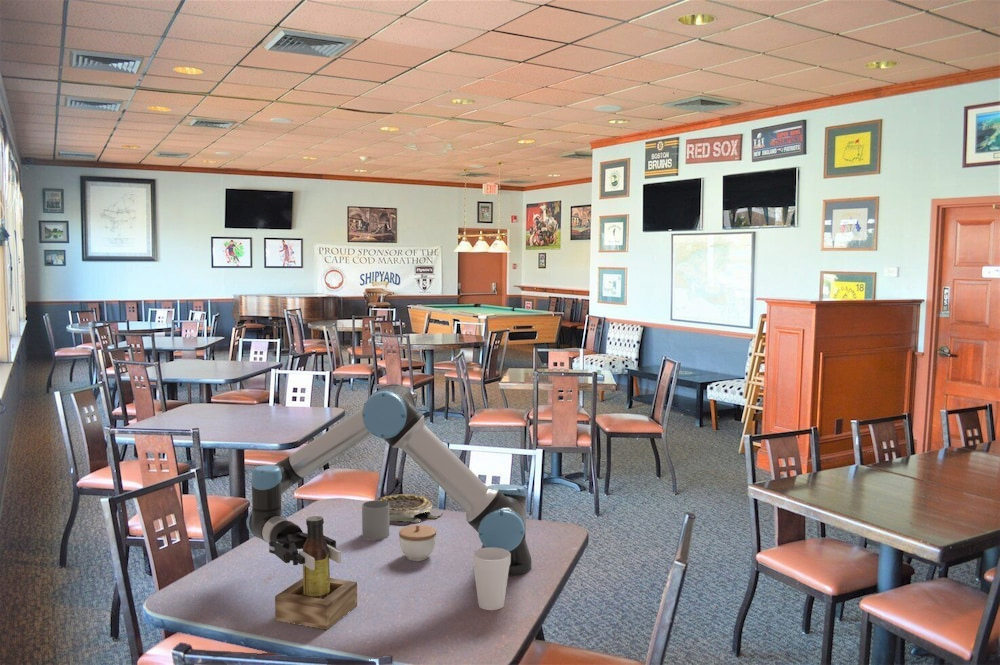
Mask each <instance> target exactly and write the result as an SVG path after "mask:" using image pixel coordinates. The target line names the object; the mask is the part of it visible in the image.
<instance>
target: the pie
mask: <svg viewBox="0 0 1000 665" xmlns="http://www.w3.org/2000/svg"><path fill="white" fill-rule="evenodd" d="M374 500H381V501H386V502H388V503H389V525H392V523H390V522H393V521H403V522H407V521H408V522H409V521H410V522H409V523H406V524H404V526H406V525H409V524H411V523H412V522H417V523H420V522H419V521H421V522H422V519H421V518H418V517H415V516H416V515H420V514H423V513H425V512H426V513H425V514H426V517H427V519H438V518H440V517H441V516H442V515H443V512H442V513H441V514H440V515H431V511H432V508H433V502H432V501H431V500H432V499H431V498H429V497H427V496H426V495H421V494H418V495H417V494H412V493H411V494H406V493H405V494H404V493H402V494H401V493H400V494H397V493H396V494H389V495H385V496H379V497H377V498H375V499H373V500H372V501H374Z"/></svg>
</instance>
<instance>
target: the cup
mask: <svg viewBox="0 0 1000 665" xmlns="http://www.w3.org/2000/svg"><path fill="white" fill-rule="evenodd" d="M373 500H374V501H373ZM373 500H368V501H365V502H363V503H362V504H361V511H362V512H361V514H362V516H361V520H362V521H361V525H362V526H361V527H362V529H361V531H362V533H361V534H362V535H361V536H362V538H363V539H364V538H365V540H367V541H368V540H369V541H379V540H380V539H381V540H385V539H387V538H389V537H390V524H389V523H390V521H389V503H388V502H386V501H381V500H375V499H373ZM388 536H389V537H388ZM384 538H385V539H384Z"/></svg>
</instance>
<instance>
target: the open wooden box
mask: <svg viewBox="0 0 1000 665" xmlns="http://www.w3.org/2000/svg"><path fill="white" fill-rule="evenodd" d="M355 606H356V607H357V606H358V582H357V581H352V580H344V579H340V578H333V577H332V578H331V577H330V592H329V595H328V596H327V597H325V598H324V599H319V598H313V597H307V596H304V588H303V577H302V578H301V579H299V580H298V581H296V582H294V583H293V584H292V585H290V586H288V587H287V588H285V589H283V590H282V591H281V592H279V593H278V594H276V595H275V596H274V612H275V613H274V615H275V618H274V619H275V620H276V621H275V622H279V621H283V622H282V623H285V622H289V623H288V624H290V623H295V624H294V625H296V624H301V625H306V626H305V627H307V626H310V627H309V628H312V627H316V628H315V629H318V628H320V630H323V629H326V630H325V631H328V630H330V629H331V627H333V626H334V625H335V624H336V623H338V622H339V621H340V620H341V619H343V618H344V617H345V616H347V615H348V614H349V613H350V612H351V611H352V609H353V608H354V607H355ZM356 607H355V608H356ZM355 608H354V609H355ZM354 609H353V610H354ZM349 611H350V612H349ZM348 612H349V613H348ZM347 613H348V614H347ZM343 616H344V617H343ZM342 617H343V618H342ZM338 620H339V621H338ZM337 621H338V622H337ZM301 625H300V626H301ZM332 625H333V626H332ZM327 629H328V630H327Z"/></svg>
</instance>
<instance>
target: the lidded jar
mask: <svg viewBox="0 0 1000 665" xmlns="http://www.w3.org/2000/svg"><path fill="white" fill-rule="evenodd" d="M398 537H399V548H400V550H401V552H402V554H403V555H405V557H406V559H407V560H409V561H413V562H415V561H416V562H418V561H419V562H420V560H421V561H425V560H427V559H428V558H429V556H430V555H431V554H432V553H433V552H434V549H435V547H436V539H437V538H436V537H437V530H436V528H434V527H432V526H429V525H425V524H415V525H408V526H405V527H402V528H400V530H399V531H398Z"/></svg>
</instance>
